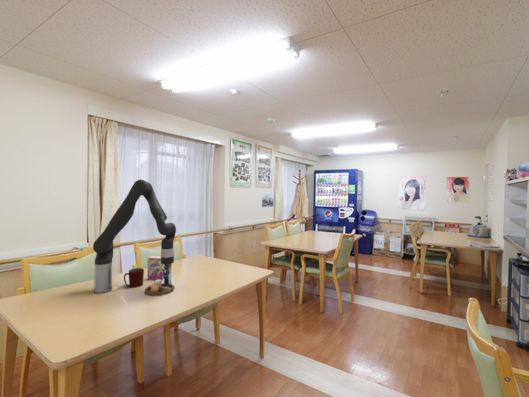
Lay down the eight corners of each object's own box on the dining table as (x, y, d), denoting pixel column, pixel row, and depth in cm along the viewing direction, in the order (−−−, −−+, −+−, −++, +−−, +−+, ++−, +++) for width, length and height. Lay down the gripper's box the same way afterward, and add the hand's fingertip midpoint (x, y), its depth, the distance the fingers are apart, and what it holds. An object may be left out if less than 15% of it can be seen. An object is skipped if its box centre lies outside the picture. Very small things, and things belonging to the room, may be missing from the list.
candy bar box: (147, 281, 183) (147, 257, 183) (150, 278, 188) (151, 255, 187) (162, 282, 182) (162, 258, 181) (166, 279, 187) (166, 256, 186)
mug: (127, 292, 163) (127, 274, 162) (120, 288, 168) (121, 271, 168) (146, 286, 172) (146, 270, 172) (139, 283, 178) (139, 267, 177)
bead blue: (163, 284, 161) (163, 276, 161) (164, 282, 166) (164, 274, 166) (170, 284, 162) (170, 276, 162) (171, 282, 166) (171, 274, 166)
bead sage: (155, 290, 163) (155, 282, 163) (153, 288, 167) (153, 280, 166) (162, 288, 166) (162, 280, 166) (160, 286, 169) (160, 278, 169)
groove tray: (149, 299, 152) (149, 295, 151) (142, 291, 164) (142, 286, 164) (178, 293, 162) (178, 288, 162) (168, 285, 175) (168, 281, 174)
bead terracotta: (155, 294, 156) (155, 286, 156) (149, 293, 158) (149, 285, 158) (160, 292, 160) (160, 283, 160) (154, 291, 162) (154, 282, 162)
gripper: (163, 253, 170) (163, 279, 170) (158, 258, 156) (158, 287, 156) (175, 252, 171) (175, 279, 171) (171, 258, 157) (171, 286, 157)
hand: (167, 282), depth 164 cm, fingers closed on bead blue, 4 cm apart
